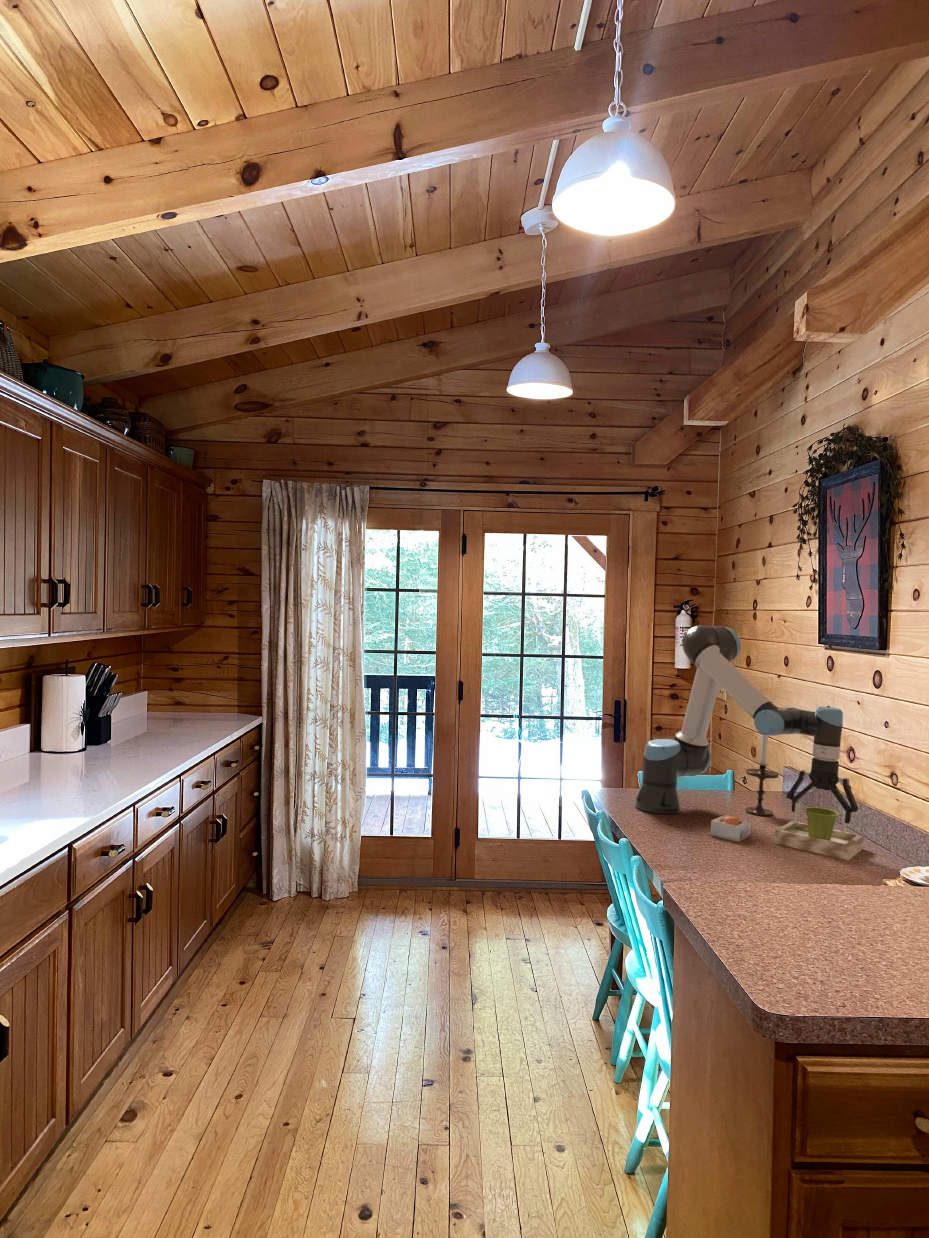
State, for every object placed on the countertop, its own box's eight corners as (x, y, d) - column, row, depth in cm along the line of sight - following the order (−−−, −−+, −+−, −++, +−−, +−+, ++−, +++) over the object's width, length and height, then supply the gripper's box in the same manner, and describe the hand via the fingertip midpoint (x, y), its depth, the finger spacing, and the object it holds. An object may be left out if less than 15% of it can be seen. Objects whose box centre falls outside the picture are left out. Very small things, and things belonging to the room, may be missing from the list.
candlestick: (746, 815, 287) (754, 713, 287) (739, 807, 298) (747, 709, 297) (779, 818, 286) (787, 716, 285) (771, 810, 297) (779, 712, 296)
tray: (774, 843, 254) (775, 829, 254) (791, 833, 267) (792, 820, 267) (848, 860, 241) (849, 846, 241) (862, 848, 255) (863, 835, 255)
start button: (719, 826, 258) (720, 817, 258) (725, 824, 262) (726, 814, 262) (735, 830, 255) (736, 820, 255) (741, 827, 259) (742, 818, 259)
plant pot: (839, 845, 249) (841, 816, 249) (805, 841, 251) (808, 812, 250) (832, 837, 258) (834, 809, 258) (799, 833, 260) (802, 805, 260)
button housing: (710, 835, 258) (711, 820, 258) (720, 829, 265) (722, 815, 265) (739, 841, 253) (740, 827, 252) (749, 836, 260) (750, 822, 260)
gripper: (779, 752, 258) (773, 820, 259) (867, 767, 243) (860, 840, 244) (787, 750, 264) (781, 816, 265) (873, 764, 249) (866, 835, 250)
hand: (819, 828), depth 254 cm, fingers open, 13 cm apart
